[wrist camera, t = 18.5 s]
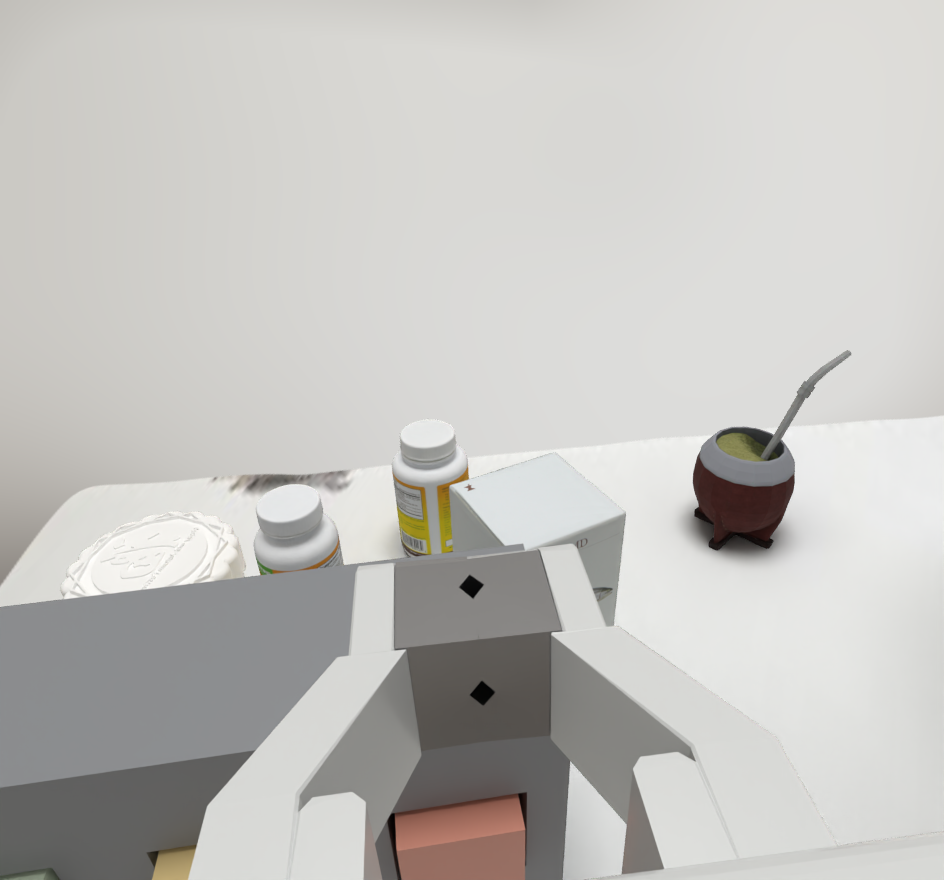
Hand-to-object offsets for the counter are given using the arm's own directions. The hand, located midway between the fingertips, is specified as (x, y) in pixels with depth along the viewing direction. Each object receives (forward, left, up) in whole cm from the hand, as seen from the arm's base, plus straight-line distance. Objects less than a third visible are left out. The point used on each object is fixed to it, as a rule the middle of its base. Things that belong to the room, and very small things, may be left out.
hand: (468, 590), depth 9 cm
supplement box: (+17, -16, -28) cm, 36 cm away
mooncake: (+38, +2, -28) cm, 48 cm away
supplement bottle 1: (+29, -6, -28) cm, 41 cm away
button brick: (+6, -3, -21) cm, 22 cm away
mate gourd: (+17, -37, -28) cm, 49 cm away
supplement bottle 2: (+30, -17, -28) cm, 44 cm away
